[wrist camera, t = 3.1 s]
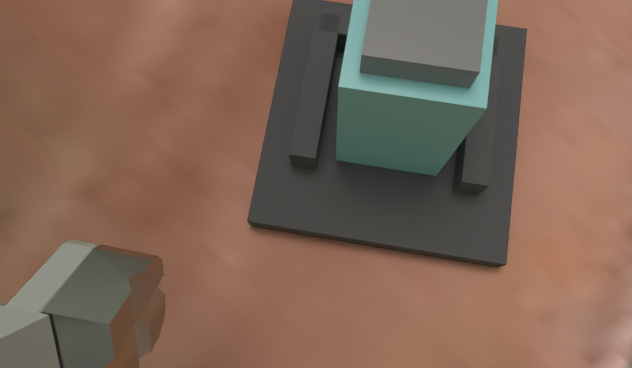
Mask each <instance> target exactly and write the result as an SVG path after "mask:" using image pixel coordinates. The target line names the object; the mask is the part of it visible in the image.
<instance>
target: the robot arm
mask: <svg viewBox="0 0 632 368" xmlns="http://www.w3.org/2000/svg"><path fill="white" fill-rule="evenodd" d="M163 276H164V273H163V263H162V259H161V258H159V257H158V256H155V255H150V254H145V253H140V252H135V251H130V250H125V249H121V248H116V247H111V246H106V245H97V244H93V243H88V242H83V241H78V240H74V239H72V240H69V241H67V242H64V243H63V244H62V245H61V246H60V247H59V248H58V249H57V250H56V251H55V252H54V253H53V255H52V256H51V257H50V258H49V259H48V260H47V261H46V262H45V263H44V264H43V265H42V266H41V267H40V269H39V270H38V271H37V272H36V273H35V274H34V275H33V276H32V277H31V278H30V279H29V280H28V282H27V283H26V284H25V285H24V286H23V287H22V288H21V289H20V290H19V291H18V292H17V293H16V294H15V296H14V297H13V298H12V299H11V300H10V301H9V302H8V303H7V304H6V305H5V306H1V305H0V368H139V358H141V357H143V356H144V355H146V354H148V353H149V352H151V351H152V349H153V347H154V345H155V343H156V341H157V339H158V337H159V334H160V331H161V328H162V324H163V321H164V315H165V295H164V294H163V292H162V291H161V290H160V289H159V288H158V284H159V283H160V281H161V279H162V277H163Z"/></svg>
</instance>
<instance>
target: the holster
mask: <svg viewBox="0 0 632 368" xmlns="http://www.w3.org/2000/svg"><path fill="white" fill-rule="evenodd" d="M352 6H353V5H351V4H344V3H337V2H329V1H322V0H293V2H292V7H291V12H290V17H289V22H288V26H287V31H286V36H285V41H284V46H283V51H282V55H281V60H280V65H279V70H278V75H277V80H276V84H275V89H274V94H273V99H272V104H271V109H270V114H269V118H268V123H267V128H266V133H265V138H264V143H263V147H262V152H261V157H260V162H259V167H258V172H257V176H256V181H255V186H254V191H253V196H252V201H251V205H250V210H249V215H248V220H247V221H248V222H249V224H250V225H252V226H258V227H264V228H270V229H276V230H282V231H288V232H294V233H300V234H306V235H311V236H317V237H323V238H329V239H335V240H341V241H347V242H353V243H359V244H365V245H371V246H377V247H383V248H389V249H395V250H400V251H406V252H412V253H418V254H424V255H430V256H436V257H442V258H448V259H454V260H460V261H466V262H472V263H478V264H484V265H489V266H495V267H500V266H503V265H506V262H507V250H508V239H509V227H510V216H511V205H512V193H513V182H514V170H515V159H516V148H517V136H518V125H519V113H520V102H521V90H522V79H523V68H524V56H525V45H526V33H527V29H524V28H517V27H510V26H503V25H495V34H494V43H493V53H492V63H491V72H490V82H489V92H488V101H487V109H486V110H485V112H484V113H483V114H482V116H481V117H480V118H479V120H478V121H477V122H476V124H475V125H474V126H473V128H472V129H471V130H470V132H469V133H468V134H467V136H466V137H465V138H464V140H463V141H462V142H461V144H460V145H459V146H458V148H457V149H456V150H455V152H454V153H453V154H452V156H451V157H450V158H449V160H448V161H447V162H446V164H445V165H444V166H443V167H442V169H441V170H440V171H439V173H438V174H437V175H436V176H432V175H426V174H420V173H414V172H407V171H401V170H395V169H388V168H382V167H376V166H369V165H363V164H357V163H350V162H344V161H338V160H336V140H337V111H338V86H339V80H340V74H341V69H342V63H343V57H344V51H345V46H346V40H347V34H348V29H349V23H350V17H351V12H352Z"/></svg>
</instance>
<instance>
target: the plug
mask: <svg viewBox="0 0 632 368" xmlns="http://www.w3.org/2000/svg"><path fill="white" fill-rule="evenodd" d="M497 5H498V0H353V6H352V12H351V17H350V23H349V29H348V34H347V40H346V46H345V51H344V57H343V63H342V69H341V74H340V80H339V86H338V111H337V140H336V160H338V161H344V162H350V163H357V164H363V165H369V166H376V167H382V168H388V169H395V170H401V171H407V172H414V173H420V174H426V175H432V176H436V175H437V174H438V173H439V171H440V170H441V169H442V167H443V166H444V165H445V164H446V162H447V161H448V160H449V158H450V157H451V156H452V154H453V153H454V152H455V150H456V149H457V148H458V146H459V145H460V144H461V142H462V141H463V140H464V138H465V137H466V136H467V134H468V133H469V132H470V130H471V129H472V128H473V126H474V125H475V124H476V122H477V121H478V120H479V118H480V117H481V116H482V114H483V113H484V112H485V110H486V109H487V101H488V92H489V82H490V72H491V63H492V53H493V43H494V34H495V24H496V14H497Z"/></svg>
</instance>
